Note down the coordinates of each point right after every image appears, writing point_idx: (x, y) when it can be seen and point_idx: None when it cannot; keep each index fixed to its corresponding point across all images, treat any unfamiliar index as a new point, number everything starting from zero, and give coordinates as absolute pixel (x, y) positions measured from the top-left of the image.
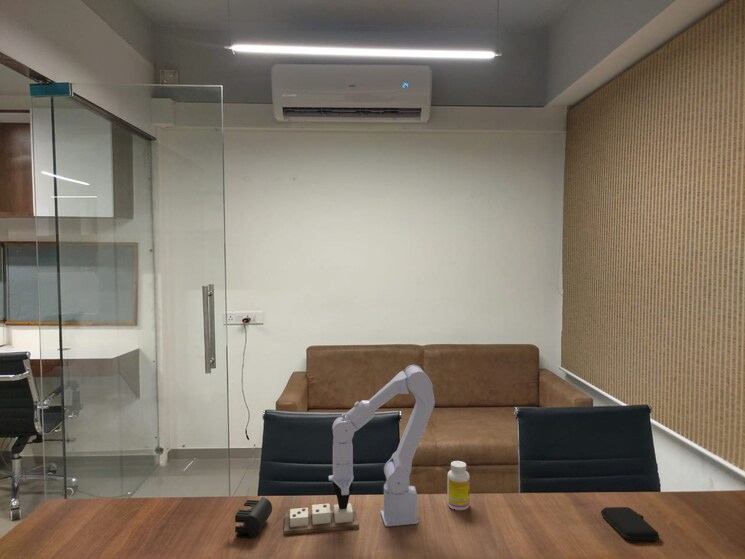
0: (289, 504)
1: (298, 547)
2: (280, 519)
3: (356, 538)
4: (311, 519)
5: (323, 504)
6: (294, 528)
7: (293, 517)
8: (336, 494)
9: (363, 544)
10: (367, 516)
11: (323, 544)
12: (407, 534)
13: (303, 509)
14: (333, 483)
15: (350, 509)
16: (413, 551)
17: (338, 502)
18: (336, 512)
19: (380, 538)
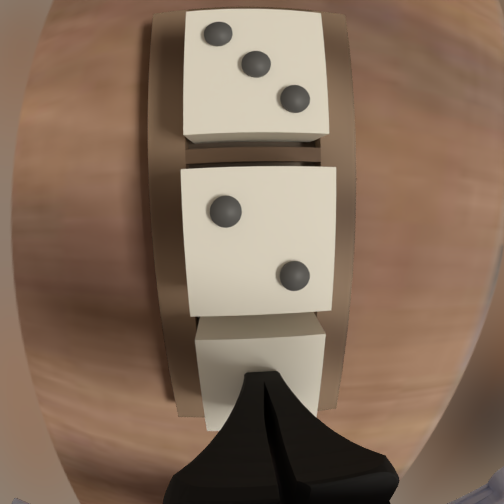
0: (458, 70)
1: (48, 112)
2: (325, 4)
3: (106, 382)
4: (298, 164)
5: (324, 264)
6: (168, 61)
7: (195, 31)
8: (205, 449)
9: (73, 395)
10: None
11: (56, 235)
12: (150, 501)
13: (295, 96)
14: (328, 488)
15: None
16: (74, 485)
17: (237, 401)
18: (210, 350)
19: (117, 448)
